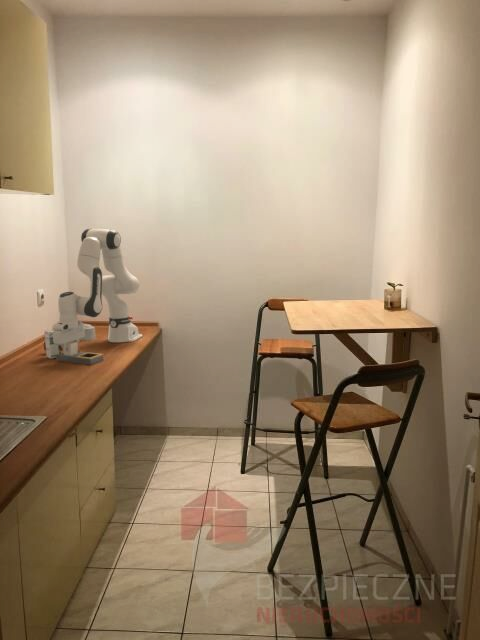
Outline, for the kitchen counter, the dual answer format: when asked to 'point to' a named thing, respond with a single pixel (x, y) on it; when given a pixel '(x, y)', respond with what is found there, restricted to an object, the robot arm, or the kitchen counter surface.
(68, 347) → the square peg
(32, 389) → the kitchen counter surface
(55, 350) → the syrup box
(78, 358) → the socket rail
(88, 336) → the lumpy-topped squat cylinder
